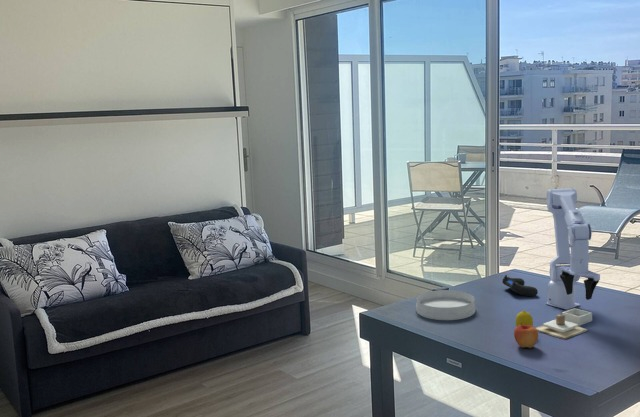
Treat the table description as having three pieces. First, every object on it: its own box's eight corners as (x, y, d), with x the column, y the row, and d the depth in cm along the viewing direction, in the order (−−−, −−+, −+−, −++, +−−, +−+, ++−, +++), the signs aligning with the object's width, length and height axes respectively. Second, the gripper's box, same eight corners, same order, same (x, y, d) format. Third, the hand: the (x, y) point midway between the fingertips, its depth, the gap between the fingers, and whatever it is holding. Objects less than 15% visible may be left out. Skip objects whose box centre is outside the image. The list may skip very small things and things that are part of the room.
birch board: (534, 329, 218) (534, 328, 218) (556, 321, 225) (556, 320, 225) (564, 339, 208) (564, 337, 208) (587, 330, 215) (587, 329, 215)
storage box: (562, 320, 226) (562, 312, 225) (574, 316, 230) (574, 308, 229) (579, 325, 220) (579, 317, 219) (592, 320, 224) (592, 312, 223)
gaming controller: (517, 291, 270) (497, 281, 268) (524, 279, 269) (504, 269, 268) (533, 303, 253) (512, 292, 252) (541, 291, 253) (519, 280, 251)
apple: (540, 351, 200) (540, 327, 199) (515, 351, 201) (515, 326, 200) (536, 342, 207) (536, 319, 206) (512, 342, 208) (512, 319, 207)
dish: (451, 325, 228) (450, 311, 227) (404, 312, 245) (403, 299, 244) (487, 309, 242) (487, 297, 242) (440, 298, 259) (440, 286, 258)
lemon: (524, 337, 212) (524, 314, 211) (512, 332, 217) (512, 310, 216) (536, 334, 214) (536, 311, 213) (524, 329, 219) (524, 307, 218)
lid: (542, 328, 218) (542, 315, 217) (557, 322, 222) (557, 310, 221) (563, 334, 211) (563, 321, 210) (578, 328, 215) (578, 315, 215)
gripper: (553, 256, 223) (553, 294, 226) (591, 264, 211) (590, 303, 214) (566, 253, 227) (566, 290, 229) (604, 260, 215) (603, 299, 217)
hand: (578, 296), depth 222 cm, fingers open, 7 cm apart
